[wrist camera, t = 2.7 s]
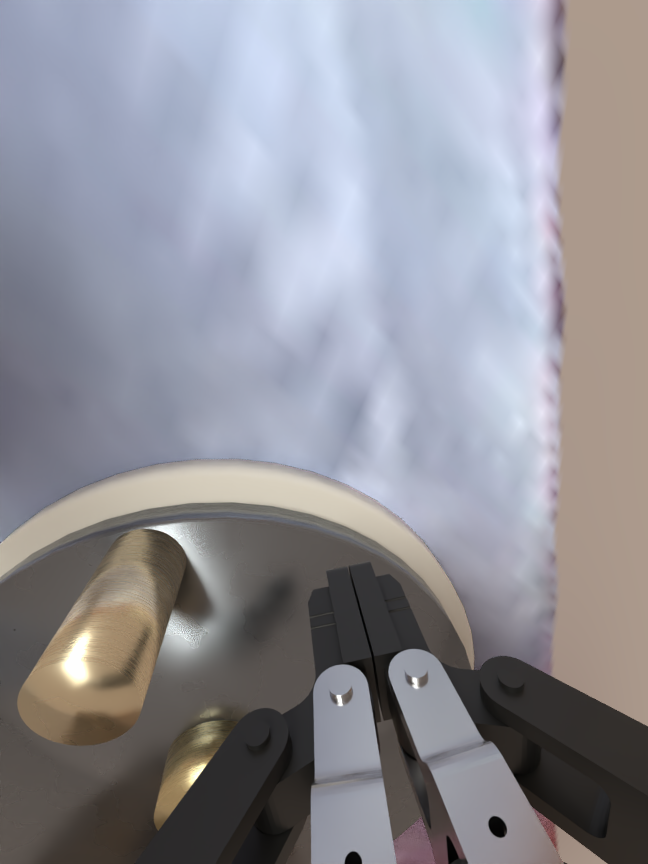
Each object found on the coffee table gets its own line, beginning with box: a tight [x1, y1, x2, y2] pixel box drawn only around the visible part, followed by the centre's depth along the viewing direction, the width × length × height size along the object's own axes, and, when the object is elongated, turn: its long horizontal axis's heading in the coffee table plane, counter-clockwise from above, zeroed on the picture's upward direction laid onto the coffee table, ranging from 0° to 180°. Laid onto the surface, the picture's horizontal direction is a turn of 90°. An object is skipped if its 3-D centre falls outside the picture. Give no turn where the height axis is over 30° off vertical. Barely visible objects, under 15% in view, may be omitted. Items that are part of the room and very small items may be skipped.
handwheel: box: [0, 502, 472, 864], centre depth 18 cm, size 27×27×8 cm
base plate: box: [0, 459, 474, 670], centre depth 23 cm, size 29×29×2 cm
